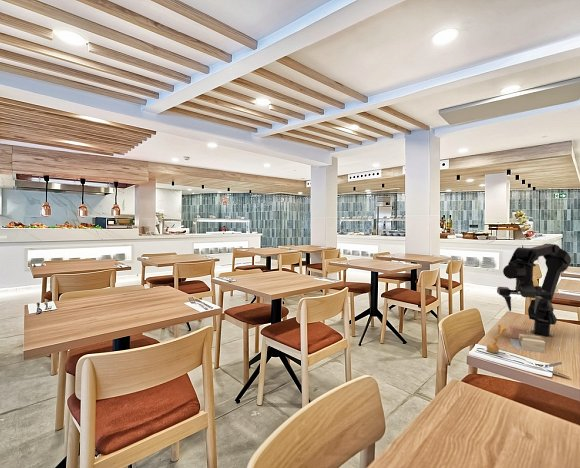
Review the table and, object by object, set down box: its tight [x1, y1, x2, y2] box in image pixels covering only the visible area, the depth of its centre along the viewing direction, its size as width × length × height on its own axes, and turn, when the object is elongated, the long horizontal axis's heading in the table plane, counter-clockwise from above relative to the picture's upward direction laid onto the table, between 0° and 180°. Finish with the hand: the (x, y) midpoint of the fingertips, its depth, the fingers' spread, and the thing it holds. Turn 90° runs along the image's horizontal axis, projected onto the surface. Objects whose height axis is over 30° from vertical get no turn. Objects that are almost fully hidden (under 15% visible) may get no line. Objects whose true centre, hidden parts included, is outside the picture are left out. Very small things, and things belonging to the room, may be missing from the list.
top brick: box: [509, 324, 528, 340], centre depth 140 cm, size 5×5×5 cm
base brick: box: [518, 334, 546, 353], centre depth 129 cm, size 7×7×4 cm
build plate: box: [508, 337, 547, 354], centre depth 131 cm, size 12×10×1 cm
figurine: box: [486, 323, 507, 354], centre depth 123 cm, size 8×6×12 cm
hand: (522, 312), depth 138 cm, fingers open, 9 cm apart
